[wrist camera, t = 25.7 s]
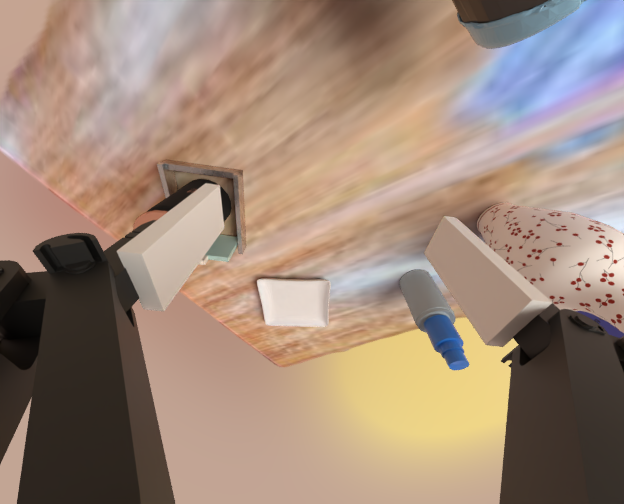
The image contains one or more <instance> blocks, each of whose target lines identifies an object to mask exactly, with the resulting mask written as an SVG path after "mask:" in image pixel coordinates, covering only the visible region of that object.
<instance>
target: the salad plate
mask: <svg viewBox="0 0 624 504" xmlns="http://www.w3.org/2000/svg"><path fill="white" fill-rule="evenodd" d="M257 287H258V291H259V295H260V299H261V303H262V308H263V313H264V319H265V323H266V325H269V326H305V327H326V326H328V322H329V297H330V287H331V284H330V281H328V280H323V279H316V280H299V279H273V278H261V279H258V280H257Z"/></svg>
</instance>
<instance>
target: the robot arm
mask: <svg viewBox="0 0 624 504" xmlns="http://www.w3.org/2000/svg"><path fill="white" fill-rule="evenodd" d="M452 1H453V3H454V5H455V7H456V9H457V11H458V13H457V16H458V20H459V22H460V23H461V24H462V25H463V26H464V27H466V28H467V30H468V31H469V33H470V35H471V36H472V38H473V40H474V41H475V43H476V44H477V45H480V46H482V47H484V48H487V49H494V48H501V47H505V46H508V45H511V44H514V43H517V42H519V41H522V40H524V39H526V38H528V37H531V36H533V35H535V34H537V33H539V32H541V31H543V30H545V29H546V28H548V27H550V26H552V25H554V24H555V23H557V22H559V21H560V20H562V19H564V18H565V17H567V16H568V15H570V14H572V13H573V12H574V11H576V10H577V9H579V7H580V5H581V4H582V3H583V2H584V1H586V0H452ZM223 229H224V220H223V211H222V201H221V192H220V185H215V184H208V183H205V184H204V185H203V186H201V187H200V188H199V189H197V190H196V191H195V192H194V193H192V194H191V195H190V196H188V197H187V198H186V199H184V200H183V201H182V202H180V203H179V204H178V205H176V206H175V207H174V208H172V209H171V210H170V211H169V212H167V213H166V214H165V215H163V216H162V217H161V218H159V219H158V220H152V221H149V222H147V223H144V224H142V225H140V226H139V227H137V228H136V229H134V230H133V231H132V232H130V233H129V234H127V235H126V236H125V238H122V239H120V240H119V241H118V242H116V243H115V244H113V245H112V246H111V247H109V248H108V249H107V250H105V251H104V252H103V250H102V248H101V246H100V244H99V242H98V240H97V239H96V237H95V236H94V235H91V234H87V233H74V234H66V235H61V236H58V237H54V238H51V239H49V240H46V241H44V242H42V243H40V244H39V245H37V246H36V247H35V249H34V250H33V252H34V254H35V255H36V256H37V257H38V259H39V260H40V262H41V263H42V264H43V266H44V267H45V269H46V270H47V271H45V272H33V273H26V272H25V271H24V270H23V268H22V267H21V266H20V265H19V264H18V263H17V262H14V261H0V464H1V461H2V459H3V457H4V455H5V453H6V451H7V448H8V446H9V444H10V442H11V440H12V438H13V436H14V434H15V431H16V429H17V427H18V425H19V423H20V420H21V418H22V416H23V414H24V412H25V410H26V408H27V405H28V403H29V401H30V399H31V397H32V401H31V407H30V414H29V421H28V428H27V435H26V442H25V449H24V457H23V464H22V471H21V478H20V485H19V492H18V499H17V504H175V500H174V495H173V491H172V486H171V482H170V476H169V472H168V468H167V462H166V459H165V453H164V449H163V444H162V440H161V435H160V430H159V425H158V421H157V417H156V411H155V407H154V402H153V397H152V392H151V388H150V383H149V378H148V374H147V369H146V364H145V360H144V356H143V351H142V346H141V342H140V336H139V332H138V327H137V323H136V318H135V313H134V311H133V309H132V305H133V304H134V303H135V302H136V301H137V300H138V299H139V300H140V303H141V305H142V307H143V309H146V310H156V311H165V309H166V308H167V306H168V305H169V304H170V302H171V301H172V300H173V298H174V297H175V296H176V294H177V293H178V291H179V290H180V289H181V287H182V286H183V285H184V283H185V282H186V280H187V279H188V278H189V276H190V275H191V273H192V272H193V271H194V269H195V268H196V267H197V265H198V264H199V262H200V261H201V260H202V258H203V257H204V255H205V254H206V253H207V251H208V250H209V249H210V247H211V246H212V244H213V243H214V242H215V240H216V239H217V237H218V236H219V235H220V233H221V232H222V231H223ZM424 254H425V256H426V257H427V259H428V260H429V262H430V263H431V265H432V266H433V267H434V269H435V270H436V272H437V273H438V275H439V276H440V278H441V279H442V281H443V282H444V284H445V285H446V287H447V288H448V290H449V291H450V293H451V294H452V296H453V297H454V299H455V300H456V302H457V303H458V305H459V306H460V308H461V309H462V310H463V312H464V313H465V315H466V316H467V318H468V319H469V321H470V322H471V324H472V325H473V327H474V328H475V330H476V331H477V333H478V334H479V336H480V337H481V339H482V340H483V342H484V343H485V344H486V345H490V346H500V347H503V346H504V345H506V344H507V343H508V342H509V341H510V340H511V339H512V338H514V339H515V341H516V342H517V343H518V344H519V345H518V346H517V347H516V348H514V349H513V350H512V351H511V352H510V353H509V354H507V355H506V356H505V357H504V358H503V359H502V360H501V362H503V363H505V362H506V361H507V360H512V363H511V364H510V365H509V367H511V378H510V389H509V400H508V412H507V423H506V424H507V425H506V436H505V447H504V458H503V471H502V482H501V493H500V504H624V336H623V337H621V338H618V337H615V336H612V335H609V334H608V333H607V331H606V330H605V329H604V328H603V327H602V326H601V325H599V324H598V323H597V322H595V321H594V320H592V319H591V318H589V317H587V316H585V315H583V314H581V313H579V312H576V311H573V310H569V309H561V310H560V309H559V308H557V307H556V306H555V305H554V304H553V302H552V301H550V300H549V299H548V298H547V297H546V296H545V295H544V294H542V293H541V292H540V291H539V290H538V289H537V288H536V287H534V286H533V285H532V284H531V283H530V282H529V281H528V280H526V279H525V278H524V277H523V276H522V275H521V274H520V273H518V272H517V271H516V270H515V269H514V268H513V267H512V266H510V265H509V264H508V263H507V262H506V261H505V260H504V259H503V258H501V257H500V256H499V255H498V254H497V253H496V252H495V251H493V250H492V249H491V248H490V247H489V246H488V245H487V244H485V243H484V242H483V241H482V240H481V239H480V238H479V237H477V236H476V235H475V234H474V233H473V232H472V231H471V230H469V229H468V228H467V227H466V226H465V225H464V224H463V223H461V222H460V221H459V220H458V219H457V218H455V217H448V216H443V218H442V220H441V222H440V224H439V226H438V227H437V229H436V231H435V233H434V235H433V237H432V239H431V241H430V243H429V244H428V246H427V248H426V250H425V252H424Z"/></svg>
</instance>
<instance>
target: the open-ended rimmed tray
mask: <svg viewBox="0 0 624 504" xmlns="http://www.w3.org/2000/svg"><path fill="white" fill-rule="evenodd" d="M157 167H158V171H159V174H160V178H161V182H162V186H163V190H164V193H165V197H166V198H167V197H169V196H170V195H172V194H173V193H175V192H176V191H178V187H177V183H176V178H175V174H174V170H175V171H182V172H189V173H196V174H203V175H211V176H218V177H225V178H232V179H233V184H234V197H235V211H236V224H237V238H238V252H239V254H243V252H244V250H245V248H246V230H245V209H244V188H243V170H236V169H229V168H222V167H215V166H208V165H201V164H193V163H186V162H179V161H172V160H165V161H162V162H160V163H157Z"/></svg>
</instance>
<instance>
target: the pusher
mask: <svg viewBox="0 0 624 504" xmlns="http://www.w3.org/2000/svg"><path fill="white" fill-rule="evenodd" d="M237 245H238V238H237V237H236V236H228V235H219V236H218V237H217V239H216V240H215V242H214V243H213V244H212V246H211V247H210V249H209V250H208V251H207V253H206V254H205V255H204V257H203V258H202V260H201V261H200V262H199V264H201V265H205V264H206V262H207V261H208V259H209V260H217V261H225V262H229V260H230V258H231V256H232V254H233V253H234V251H235V249H236V247H237Z"/></svg>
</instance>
